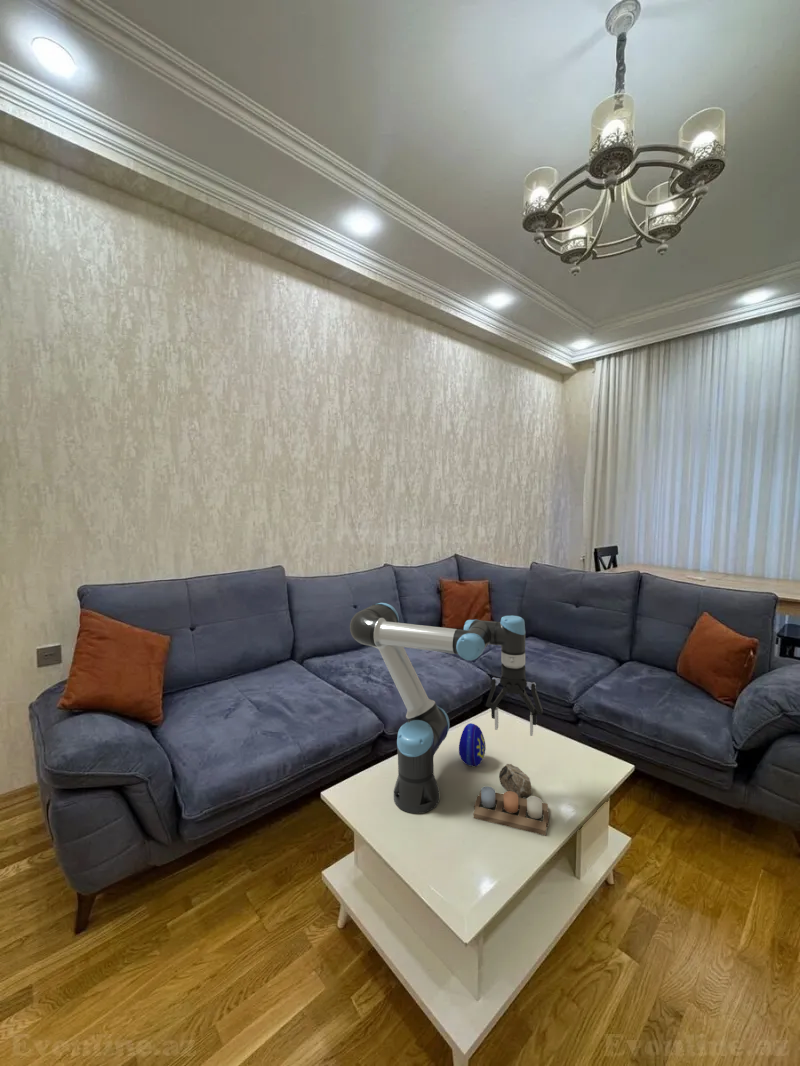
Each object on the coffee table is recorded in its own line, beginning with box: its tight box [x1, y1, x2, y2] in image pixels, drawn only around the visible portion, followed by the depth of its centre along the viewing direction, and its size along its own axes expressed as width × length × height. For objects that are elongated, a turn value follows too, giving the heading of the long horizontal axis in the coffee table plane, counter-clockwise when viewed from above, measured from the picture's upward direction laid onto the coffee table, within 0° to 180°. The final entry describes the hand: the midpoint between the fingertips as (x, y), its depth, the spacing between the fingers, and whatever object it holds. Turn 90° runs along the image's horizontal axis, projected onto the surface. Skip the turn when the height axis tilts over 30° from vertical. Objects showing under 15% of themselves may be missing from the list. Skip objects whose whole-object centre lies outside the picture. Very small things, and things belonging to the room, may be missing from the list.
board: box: [473, 790, 550, 836], centre depth 133 cm, size 22×12×2 cm, turn 68°
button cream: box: [526, 795, 543, 820], centre depth 130 cm, size 4×4×4 cm
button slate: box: [480, 786, 496, 809], centre depth 135 cm, size 4×4×4 cm
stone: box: [499, 763, 533, 799], centre depth 143 cm, size 7×12×7 cm, turn 35°
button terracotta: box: [503, 791, 519, 814], centre depth 133 cm, size 4×4×4 cm
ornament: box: [458, 722, 487, 767], centre depth 159 cm, size 11×9×15 cm
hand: (513, 730), depth 140 cm, fingers open, 10 cm apart
